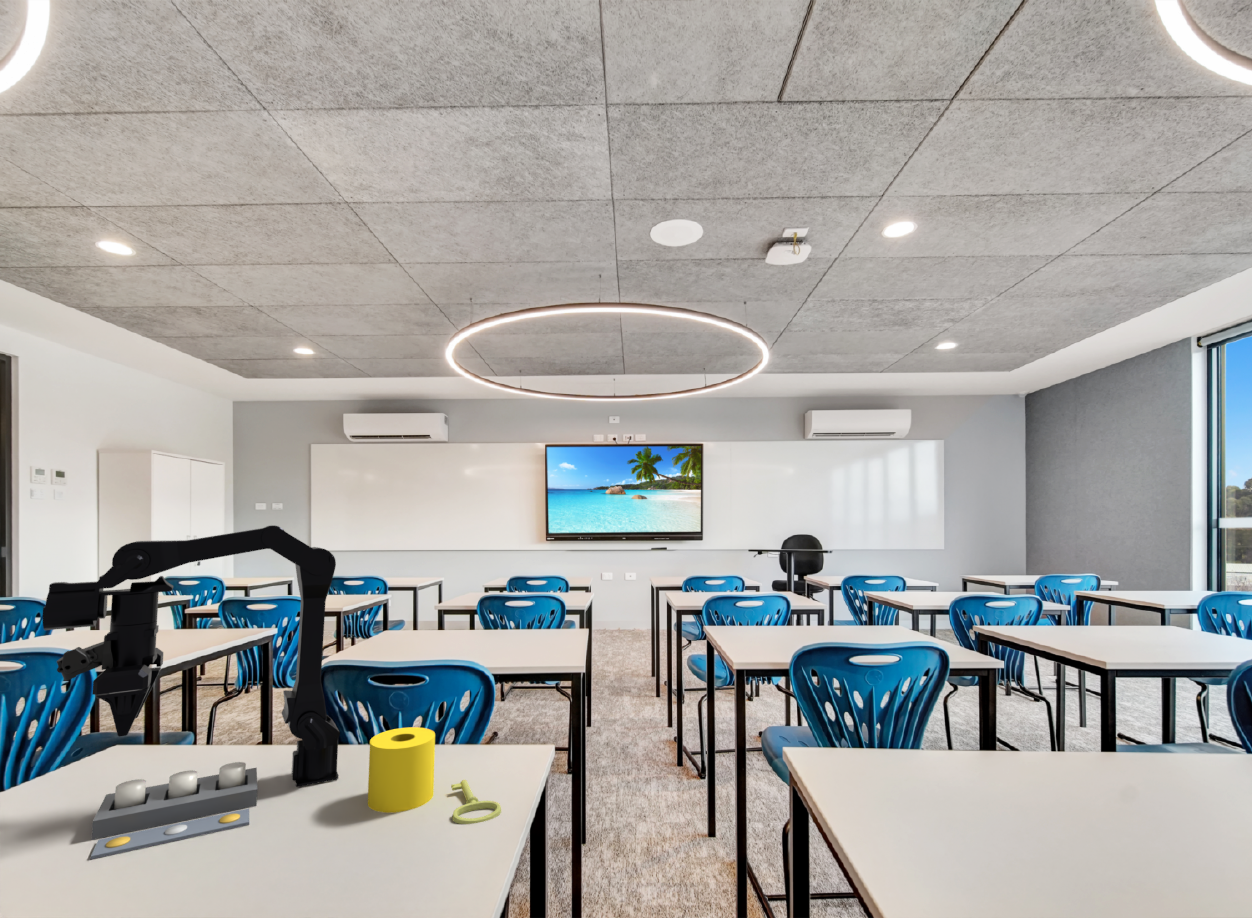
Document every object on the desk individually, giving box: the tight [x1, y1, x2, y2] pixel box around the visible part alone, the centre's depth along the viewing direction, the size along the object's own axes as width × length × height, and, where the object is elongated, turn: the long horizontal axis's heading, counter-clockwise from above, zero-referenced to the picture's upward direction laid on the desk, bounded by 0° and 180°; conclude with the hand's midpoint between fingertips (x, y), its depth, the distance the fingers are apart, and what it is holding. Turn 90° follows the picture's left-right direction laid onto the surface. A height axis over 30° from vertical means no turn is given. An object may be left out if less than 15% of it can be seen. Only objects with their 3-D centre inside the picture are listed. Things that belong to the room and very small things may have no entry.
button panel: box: [90, 767, 258, 841], centre depth 97 cm, size 20×10×2 cm, turn 121°
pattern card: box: [90, 808, 250, 860], centre depth 89 cm, size 18×5×1 cm, turn 121°
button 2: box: [218, 761, 247, 790], centre depth 100 cm, size 4×4×3 cm
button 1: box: [114, 778, 147, 810], centre depth 94 cm, size 4×4×3 cm
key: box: [451, 779, 502, 825], centre depth 97 cm, size 7×12×2 cm, turn 45°
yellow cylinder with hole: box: [367, 726, 436, 814], centre depth 101 cm, size 10×10×9 cm
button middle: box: [168, 770, 199, 799], centre depth 97 cm, size 4×4×3 cm
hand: (128, 726), depth 95 cm, fingers open, 9 cm apart
